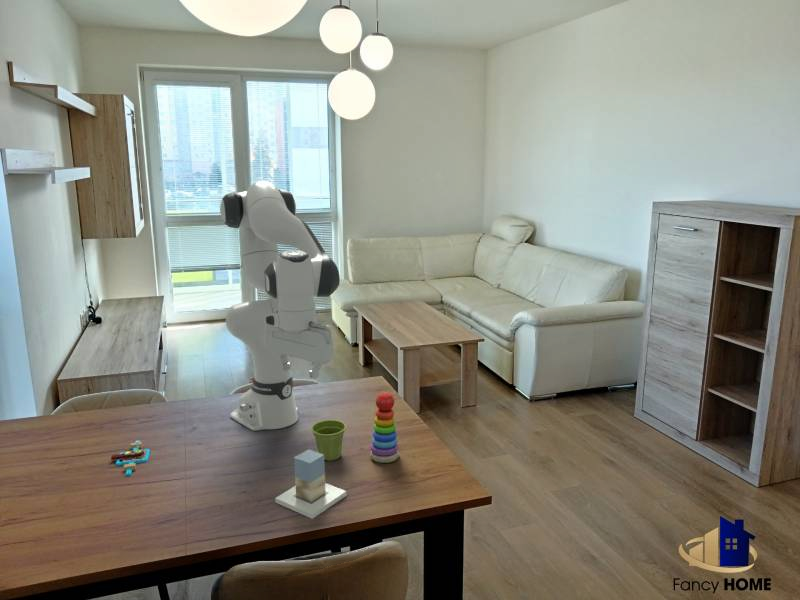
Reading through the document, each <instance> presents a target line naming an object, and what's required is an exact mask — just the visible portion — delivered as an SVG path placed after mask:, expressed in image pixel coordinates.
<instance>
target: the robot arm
mask: <svg viewBox="0 0 800 600" xmlns="http://www.w3.org/2000/svg"><path fill="white" fill-rule="evenodd" d="M219 211H220V216H221V219H222V220H223V222H224V224H225V225H226V226H227V227H229V228H232V229H239V228H242V229H241V254H242V255H241V256H242V262H243V270H244V271H243V272H244V276H245V277H244V278H245V281H246V283H247V284H248V285H249V286H250V287H252V288H254V289H257V290H259V291H262V292H263V293H264V294H265V295H266V296H267V299H257V300H251V301H250V300H249V301H244V302H241V303H237V304H234V305H231V306H230V307H229V308H228V310H227V312H226V316H225V325H226V328H227V331H228V332H229V333H230V335H232V336H233V337H234V338H236V339H238V340H239V341H241V342H242V343H243V344H244V345H245V346H246V347H247V349H248V350H249V352H250V354H251V357H252V362H253V371H254V377H252V378H250V379H248V380H249V382H248V383H250V384H251V383H252V384H251V388H250V389H249V390H247V391H246V392H244V394H241V396H240V397H239V398H238V401H237V408H236V409H234V410H233V411H232V412H230V415H229V416H230V418H231V419H233V420H235V421H236V422H237V423H239V424H241V425H242V426H244V427H245V428H247V429H249V430H251V431H253V432H254V431H261V430H278V429H283V428H286V427H287V428H288V427H290V426H292V425H294V424H296V423H297V422H298V421H299V414H298V413H299V408H298V407H297V403H296V398H295V392H294V379H293V375H292V369H291V368H292V367H291V357H292V358H296V359H300V360H304V361H307V362H311V366H313V367H312V370H309V371H308V373H309V379H313V380H315V379H318V378H319V376H320V373H319V372H320V369H321V367H322V365H326V364H328V363H330V362H332V361H333V360H334V359H335V348H334V344H333V338H332V332H331V330H330V329H329V328H328V327H327V325H326V324H324V323H318V322H317V314H316V312H317V310H316V308H317V307H316V303H315V300H314V297H316V298H321V297H322V298H329V297H330V296H331V295H332V294H334V292H335V291H336V290H338V287H339V286H340V283H341V282H340V281H341V277H340V273H339V272H340V271H339V268H338V266H337V264H336V262H334V260H333V259H332V258H331V257H330V256H329V255H328V254H327V253H326V251H325V249H324V247H323V246H322V245H321V243H320V242H319V240H318V238H317V237H316V235H315V233H314V232H313V231H312V229H311V228H310V226H309V225H308V224H307V222H305V221H304V220H302V219H300V218H299V217H297V216H296V212H297V203H296V200H295V198H294V195H293V193H291V192H290V191H289V190H286V189H278V188H277V187H276V186H275V184H273V183H271V182H269V181H267V180H259V181H256V182H253V183H252V184H251V185H249V187H248V189H247V190H246V191H240V192H237V191H232V192H229V193H227V194H225V195H224V196H222V198H221V201H220V206H219ZM279 245H284V246H289V247H293V248H296V249H290V250H285V251H282V252H280V251H279Z"/></svg>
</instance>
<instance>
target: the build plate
mask: <svg viewBox="0 0 800 600" xmlns="http://www.w3.org/2000/svg"><path fill="white" fill-rule="evenodd" d="M325 491H326V493H324V494H323V495H321V496H320V497H318V498H317V499H315V500H314V501H312V502H310V501H308V500H305V499H303V498H301V497H298V496H296V485H295V486H292V487H290V489H287V490H286V491H284V492H283V493H281V494H279V495H277V496H276V497H275V498H274V501H275V503H276V504H278V505H281V506H282V507H285V508H287V509H289V510H291V511H294V512H296V513H298V514H300V515H303V516H305V517H307V518H309V519H311V520H313V519H315V518H317V516H319V515H321V513H324V512H325V511H326V510H328V509H329V508H330V507H332V506H333V505H334V504H336V503H338V502H339V501H340V500H343V498H345V497H346V496H347V490H345V489H342V488H339V487H336V486H334V485H332V484H330V483H326V482H325Z"/></svg>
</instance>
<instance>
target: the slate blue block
mask: <svg viewBox="0 0 800 600" xmlns="http://www.w3.org/2000/svg"><path fill="white" fill-rule="evenodd" d="M293 459H294V461H293V462H294V463H293V464H294V478H295V477H297V478H300V479H302V480H305V481H307V482H310V483H311V482H313V481H314V480H316V479H317V478H319V477H321V476H322V475H324V474H325V475H326V472H325V468H326V467H325V459H324V455H323V454H320V453H318V451H314V450H312V449H309V448H308V449H307V450H305V451H303V452H301V453H300V454H298V455H296V456H294V457H293Z"/></svg>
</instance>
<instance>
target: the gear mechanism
mask: <svg viewBox="0 0 800 600" xmlns="http://www.w3.org/2000/svg"><path fill="white" fill-rule="evenodd" d="M129 446H130V450H129V451H128V450H126V451H123V452H119V454H113V455H111V457H110V460H111V461H113V460H116V462H115V465H116V466H123V472H125V477H128V476H131V475H132V472H133V471H136V470H137V464H140V463H141V464H142V463H147V462H148V461H149V457H150V449H149V448H147V449H146V448H143V442H142V441H141V440H135V442H132V443H130V445H129ZM142 448H143V449H142ZM121 460H122V461H121Z"/></svg>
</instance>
